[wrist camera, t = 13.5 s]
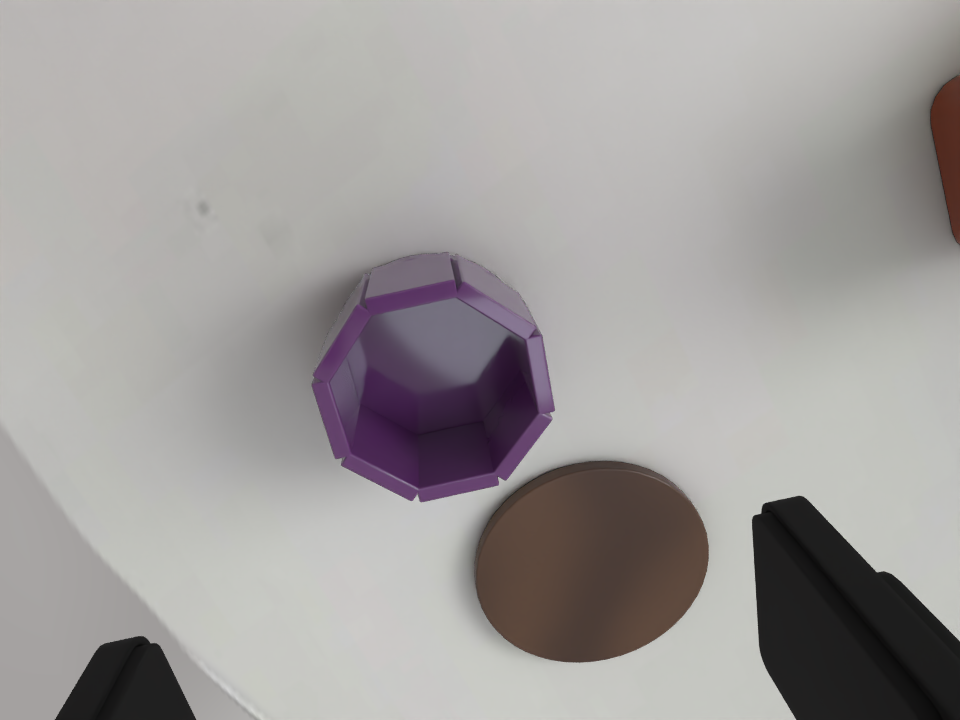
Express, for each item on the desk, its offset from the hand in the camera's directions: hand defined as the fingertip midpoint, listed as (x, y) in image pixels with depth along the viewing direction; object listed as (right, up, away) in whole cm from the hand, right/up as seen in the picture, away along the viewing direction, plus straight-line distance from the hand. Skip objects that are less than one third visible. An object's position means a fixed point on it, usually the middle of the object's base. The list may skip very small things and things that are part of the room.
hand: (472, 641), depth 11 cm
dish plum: (-1, +5, +12) cm, 13 cm away
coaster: (+4, -3, +16) cm, 17 cm away
